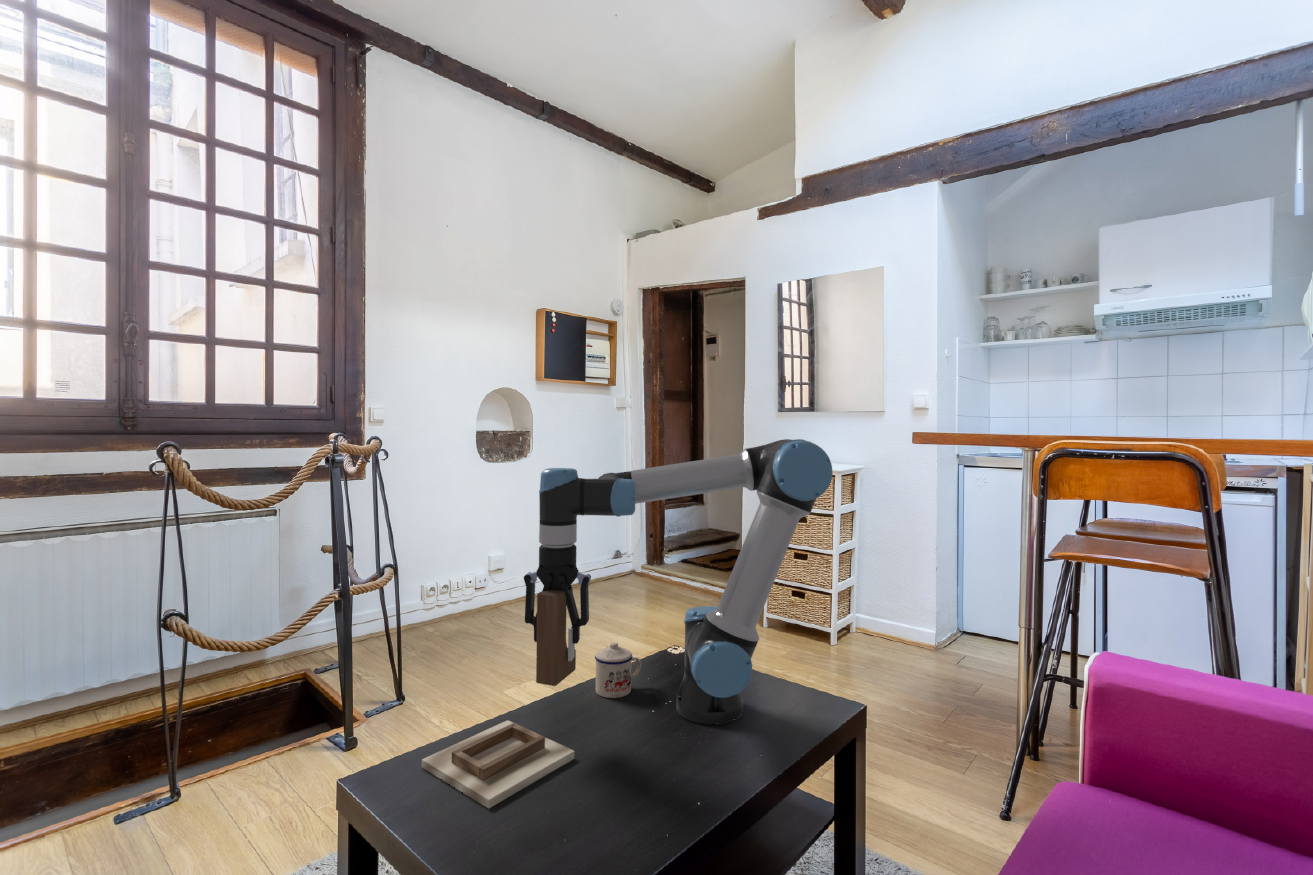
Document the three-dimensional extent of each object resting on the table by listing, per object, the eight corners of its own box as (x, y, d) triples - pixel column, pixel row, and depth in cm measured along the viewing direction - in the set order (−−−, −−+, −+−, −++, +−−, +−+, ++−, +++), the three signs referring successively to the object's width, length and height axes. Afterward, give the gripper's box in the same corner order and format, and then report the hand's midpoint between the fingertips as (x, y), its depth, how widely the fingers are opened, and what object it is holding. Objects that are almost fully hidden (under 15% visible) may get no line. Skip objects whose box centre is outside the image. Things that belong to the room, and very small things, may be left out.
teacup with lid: (604, 702, 143) (604, 652, 143) (588, 687, 151) (589, 640, 151) (649, 692, 149) (649, 644, 149) (632, 678, 157) (632, 633, 157)
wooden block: (557, 666, 130) (558, 582, 130) (576, 670, 128) (577, 584, 128) (535, 683, 121) (536, 593, 121) (555, 687, 120) (556, 595, 120)
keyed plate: (574, 758, 118) (574, 740, 118) (488, 808, 102) (488, 787, 102) (507, 727, 130) (507, 710, 130) (421, 767, 115) (421, 748, 115)
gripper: (605, 542, 128) (604, 653, 128) (519, 539, 129) (518, 649, 129) (599, 549, 120) (598, 667, 120) (507, 546, 122) (506, 663, 122)
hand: (556, 657), depth 125 cm, fingers closed on wooden block, 5 cm apart
